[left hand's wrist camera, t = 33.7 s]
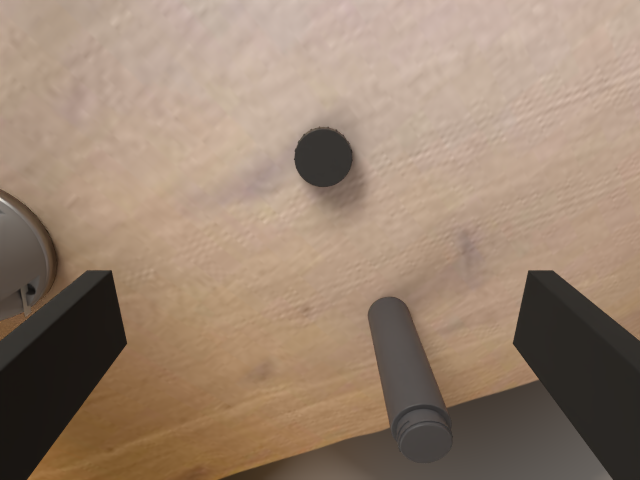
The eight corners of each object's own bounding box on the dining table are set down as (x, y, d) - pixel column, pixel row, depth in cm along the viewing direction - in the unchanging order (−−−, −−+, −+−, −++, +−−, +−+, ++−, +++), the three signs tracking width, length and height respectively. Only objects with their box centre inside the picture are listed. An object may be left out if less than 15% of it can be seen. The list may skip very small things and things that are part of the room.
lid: (322, 113, 38) (322, 115, 36) (363, 154, 39) (365, 157, 38) (283, 156, 39) (281, 159, 38) (324, 194, 41) (324, 199, 39)
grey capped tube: (403, 292, 45) (451, 414, 28) (412, 326, 47) (463, 459, 30) (363, 302, 46) (387, 428, 29) (373, 336, 47) (402, 473, 31)
